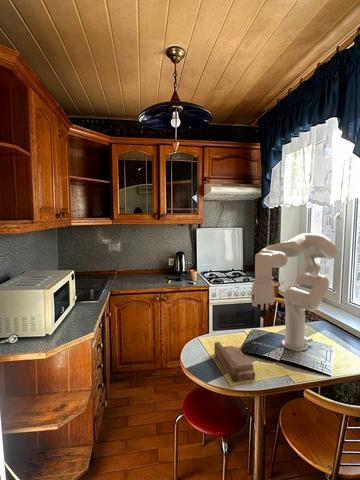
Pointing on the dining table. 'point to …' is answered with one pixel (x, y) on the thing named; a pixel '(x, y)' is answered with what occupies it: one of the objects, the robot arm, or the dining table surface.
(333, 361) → the dining table surface
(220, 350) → the block
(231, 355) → the brick
